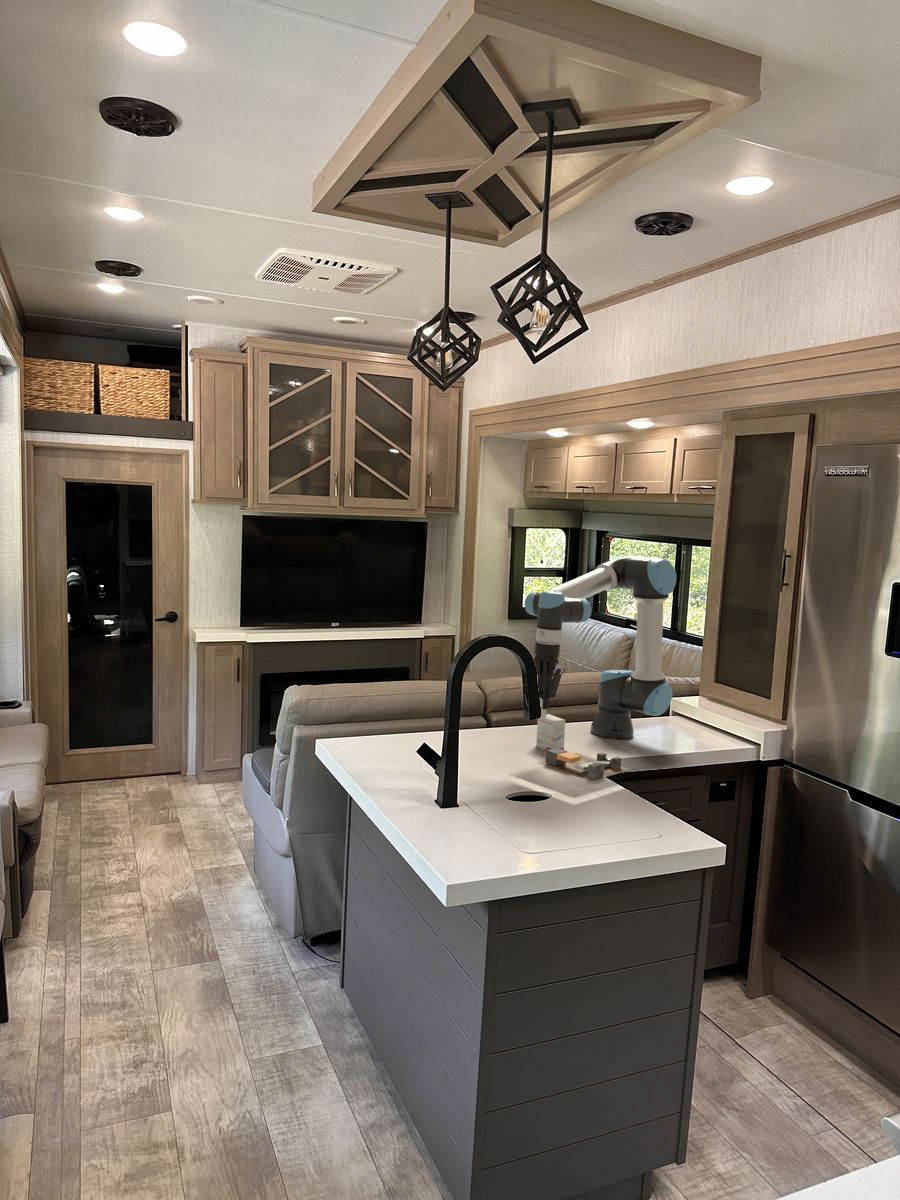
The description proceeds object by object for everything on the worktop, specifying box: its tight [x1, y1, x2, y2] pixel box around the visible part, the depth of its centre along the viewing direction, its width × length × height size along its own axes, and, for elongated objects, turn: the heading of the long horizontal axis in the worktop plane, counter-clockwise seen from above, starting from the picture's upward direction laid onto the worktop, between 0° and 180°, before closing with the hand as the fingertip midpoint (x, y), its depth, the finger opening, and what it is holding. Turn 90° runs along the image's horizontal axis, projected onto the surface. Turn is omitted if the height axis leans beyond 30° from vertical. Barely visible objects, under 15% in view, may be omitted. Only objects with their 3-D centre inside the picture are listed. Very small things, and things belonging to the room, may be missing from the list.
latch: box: [545, 748, 581, 766], centre depth 248 cm, size 5×9×4 cm, turn 45°
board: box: [537, 751, 631, 782], centre depth 250 cm, size 20×20×5 cm
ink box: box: [535, 713, 566, 751], centre depth 266 cm, size 9×5×12 cm, turn 33°
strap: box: [575, 757, 612, 771], centre depth 247 cm, size 16×3×2 cm, turn 135°
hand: (541, 718), depth 253 cm, fingers closed
